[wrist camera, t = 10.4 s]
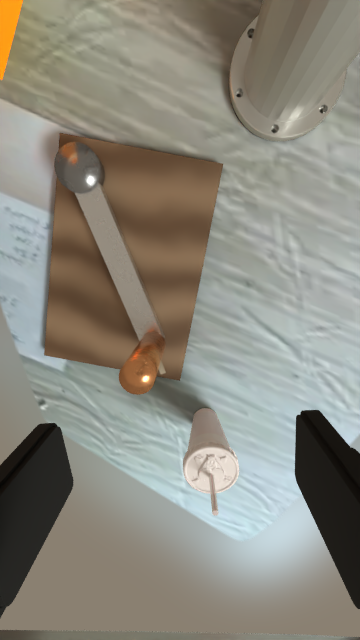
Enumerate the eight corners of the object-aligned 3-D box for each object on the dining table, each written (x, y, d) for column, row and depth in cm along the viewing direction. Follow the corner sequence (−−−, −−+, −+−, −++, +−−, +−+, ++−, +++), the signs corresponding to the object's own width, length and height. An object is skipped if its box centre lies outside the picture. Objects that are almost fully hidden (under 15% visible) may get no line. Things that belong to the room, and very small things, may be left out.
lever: (56, 161, 29) (-31, 90, 17) (94, 143, 28) (29, 57, 17) (142, 356, 33) (118, 402, 22) (176, 344, 33) (169, 384, 21)
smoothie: (185, 437, 37) (183, 535, 24) (183, 400, 36) (180, 479, 22) (226, 437, 37) (248, 535, 23) (226, 399, 36) (249, 479, 22)
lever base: (64, 138, 30) (59, 132, 28) (221, 168, 30) (223, 163, 28) (49, 352, 35) (43, 355, 34) (180, 376, 35) (179, 380, 34)
